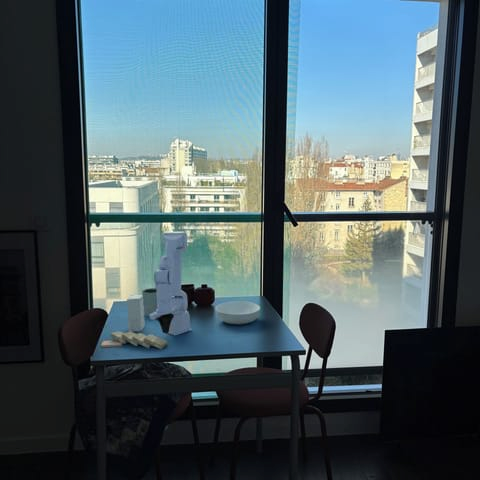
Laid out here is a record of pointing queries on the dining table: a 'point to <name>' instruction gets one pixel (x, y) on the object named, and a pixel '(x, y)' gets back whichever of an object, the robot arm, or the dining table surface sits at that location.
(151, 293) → the grey green plant pot
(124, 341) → the domino
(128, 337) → the domino
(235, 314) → the serving bowl
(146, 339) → the domino
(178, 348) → the dining table surface
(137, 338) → the domino
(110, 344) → the end domino
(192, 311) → the dining table surface
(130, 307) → the skincare box
